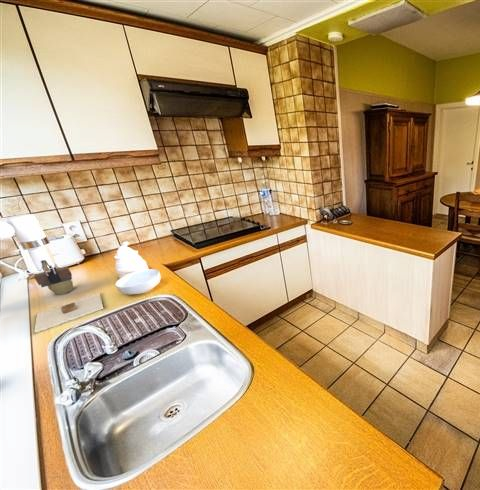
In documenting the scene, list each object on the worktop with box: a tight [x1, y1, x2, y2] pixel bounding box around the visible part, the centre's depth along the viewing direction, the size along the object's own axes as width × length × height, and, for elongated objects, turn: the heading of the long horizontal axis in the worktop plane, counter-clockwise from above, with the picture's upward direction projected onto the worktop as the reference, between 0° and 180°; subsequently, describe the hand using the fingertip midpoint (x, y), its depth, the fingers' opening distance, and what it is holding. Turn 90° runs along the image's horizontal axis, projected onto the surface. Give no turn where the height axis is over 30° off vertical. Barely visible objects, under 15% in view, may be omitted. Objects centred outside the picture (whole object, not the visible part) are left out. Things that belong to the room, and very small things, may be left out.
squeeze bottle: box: [42, 263, 74, 295], centre depth 128 cm, size 8×8×18 cm
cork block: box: [61, 302, 77, 314], centre depth 115 cm, size 4×4×2 cm
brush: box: [33, 266, 73, 288], centre depth 118 cm, size 10×3×6 cm, turn 137°
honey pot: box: [113, 241, 150, 279], centre depth 143 cm, size 13×13×18 cm
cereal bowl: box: [115, 268, 162, 296], centre depth 128 cm, size 17×17×7 cm
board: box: [34, 292, 105, 334], centre depth 115 cm, size 20×17×1 cm
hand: (56, 280), depth 119 cm, fingers closed on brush, 3 cm apart
